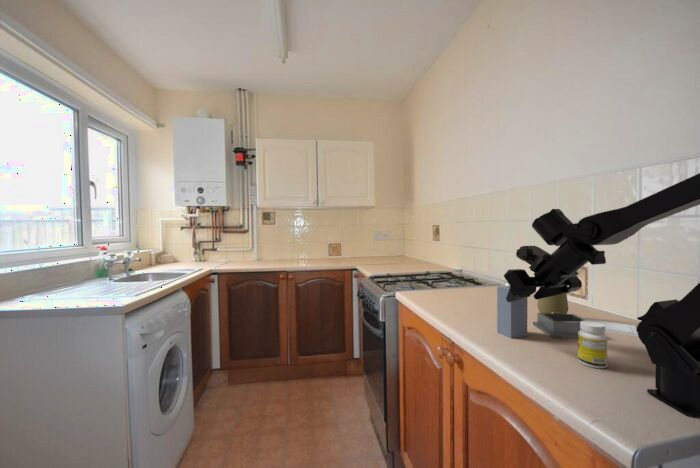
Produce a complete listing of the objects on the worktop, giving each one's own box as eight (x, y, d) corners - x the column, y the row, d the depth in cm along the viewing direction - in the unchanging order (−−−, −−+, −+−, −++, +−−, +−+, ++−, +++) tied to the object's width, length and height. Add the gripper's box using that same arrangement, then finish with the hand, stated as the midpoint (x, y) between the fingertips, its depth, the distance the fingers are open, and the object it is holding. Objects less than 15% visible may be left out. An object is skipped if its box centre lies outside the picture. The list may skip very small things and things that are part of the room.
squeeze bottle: (531, 317, 93) (531, 260, 93) (547, 313, 96) (547, 259, 96) (558, 324, 86) (558, 263, 85) (574, 320, 89) (574, 261, 89)
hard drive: (578, 323, 83) (639, 332, 76) (578, 316, 90) (634, 324, 82) (578, 329, 83) (639, 338, 76) (578, 322, 90) (634, 330, 82)
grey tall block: (527, 335, 77) (527, 285, 77) (510, 338, 75) (511, 286, 75) (512, 330, 81) (513, 282, 81) (497, 332, 79) (497, 283, 79)
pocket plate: (599, 339, 74) (599, 323, 74) (552, 337, 75) (552, 321, 75) (574, 326, 84) (574, 311, 84) (533, 324, 86) (533, 310, 86)
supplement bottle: (583, 356, 64) (584, 318, 64) (611, 365, 60) (611, 324, 60) (573, 362, 61) (573, 322, 61) (601, 371, 57) (601, 328, 57)
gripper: (569, 234, 73) (529, 272, 83) (510, 235, 67) (476, 275, 78) (605, 270, 65) (556, 306, 76) (542, 274, 60) (499, 313, 70)
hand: (521, 299), depth 75 cm, fingers open, 9 cm apart
